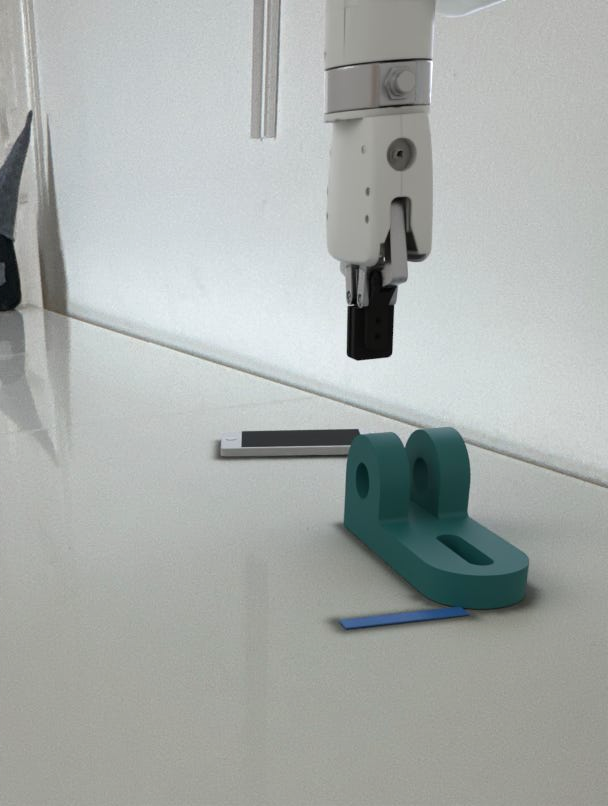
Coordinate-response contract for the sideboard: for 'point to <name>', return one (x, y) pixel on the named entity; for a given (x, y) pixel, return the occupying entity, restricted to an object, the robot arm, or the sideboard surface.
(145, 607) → the sideboard surface
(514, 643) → the sideboard surface
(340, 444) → the smartphone
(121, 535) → the sideboard surface
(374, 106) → the robot arm
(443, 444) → the bracket
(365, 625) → the tape line
